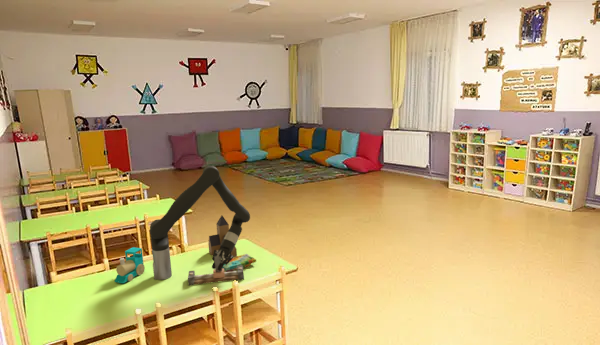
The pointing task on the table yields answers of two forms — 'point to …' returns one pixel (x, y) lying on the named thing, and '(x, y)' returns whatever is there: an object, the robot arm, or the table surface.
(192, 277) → the rail bed
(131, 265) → the toy train
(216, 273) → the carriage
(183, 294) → the table surface
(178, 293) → the table surface
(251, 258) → the puzzle game
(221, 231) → the toy building blocks
